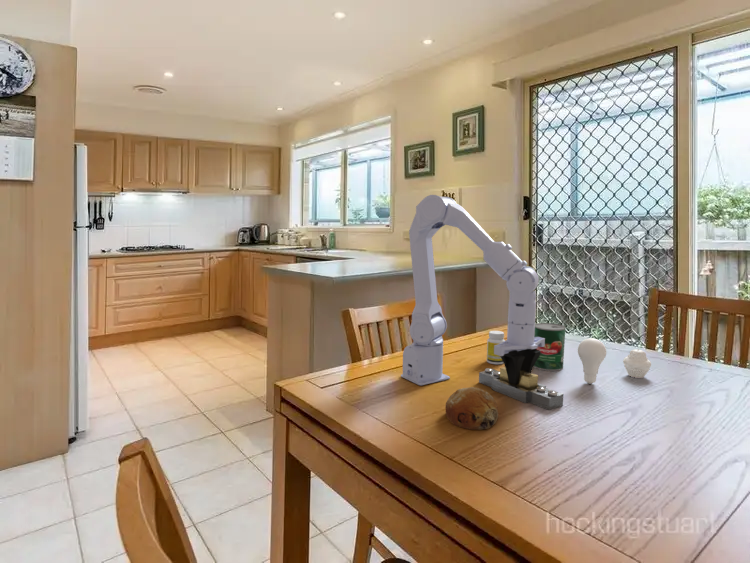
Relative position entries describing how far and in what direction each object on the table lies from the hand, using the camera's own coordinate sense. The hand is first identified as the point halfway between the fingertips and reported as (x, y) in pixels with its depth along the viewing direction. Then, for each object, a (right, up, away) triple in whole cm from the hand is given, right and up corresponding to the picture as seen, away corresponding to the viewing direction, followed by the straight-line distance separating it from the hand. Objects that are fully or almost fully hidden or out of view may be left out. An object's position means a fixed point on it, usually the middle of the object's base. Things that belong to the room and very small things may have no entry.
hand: (518, 381), depth 103 cm
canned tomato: (+14, 0, +20) cm, 24 cm away
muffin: (+33, -2, +12) cm, 36 cm away
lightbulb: (+19, -2, +7) cm, 20 cm away
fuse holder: (0, -3, 0) cm, 3 cm away
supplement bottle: (+1, 0, +23) cm, 23 cm away
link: (0, -3, 0) cm, 3 cm away
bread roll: (-13, -5, -14) cm, 19 cm away
